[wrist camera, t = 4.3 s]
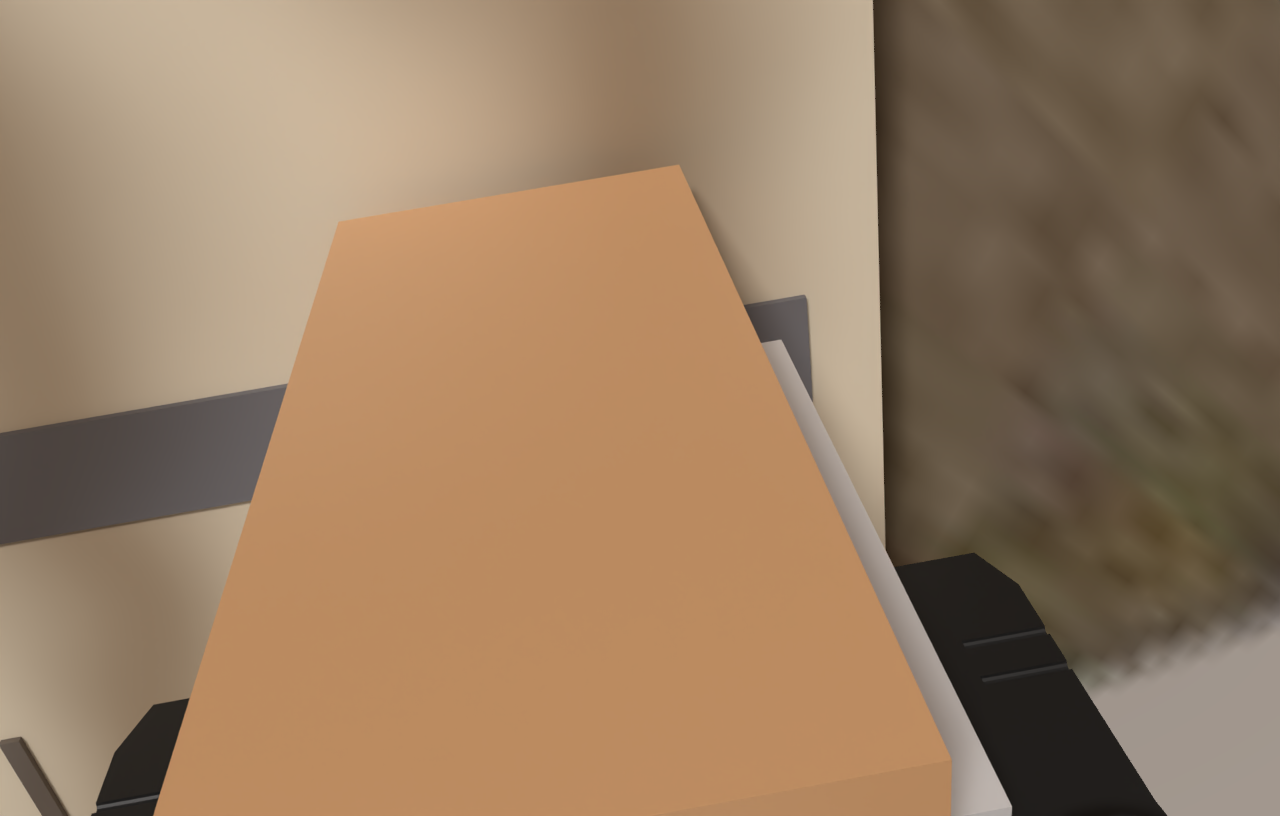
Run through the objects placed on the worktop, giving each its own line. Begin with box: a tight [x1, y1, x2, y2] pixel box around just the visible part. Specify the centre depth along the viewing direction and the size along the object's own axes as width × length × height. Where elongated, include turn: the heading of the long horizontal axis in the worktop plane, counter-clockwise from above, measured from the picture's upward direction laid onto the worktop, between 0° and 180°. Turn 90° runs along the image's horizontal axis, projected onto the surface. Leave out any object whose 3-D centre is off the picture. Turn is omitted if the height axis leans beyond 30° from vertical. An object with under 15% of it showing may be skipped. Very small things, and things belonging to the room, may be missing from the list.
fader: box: [153, 165, 952, 816], centre depth 11 cm, size 4×6×9 cm, turn 8°
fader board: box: [0, 0, 886, 816], centre depth 16 cm, size 23×14×2 cm, turn 98°
